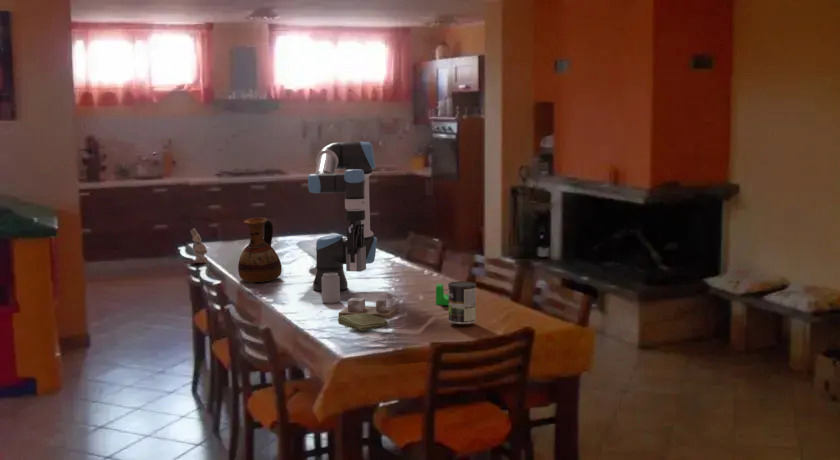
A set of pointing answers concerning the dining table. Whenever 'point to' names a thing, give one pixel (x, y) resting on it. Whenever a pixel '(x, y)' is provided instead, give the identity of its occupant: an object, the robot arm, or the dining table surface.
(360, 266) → the dark grey block
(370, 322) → the washcloth
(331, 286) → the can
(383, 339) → the dining table surface
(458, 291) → the coffee can
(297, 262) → the dining table surface
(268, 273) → the ceramic pitcher
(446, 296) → the mechanical part
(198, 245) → the figurine
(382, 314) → the board
